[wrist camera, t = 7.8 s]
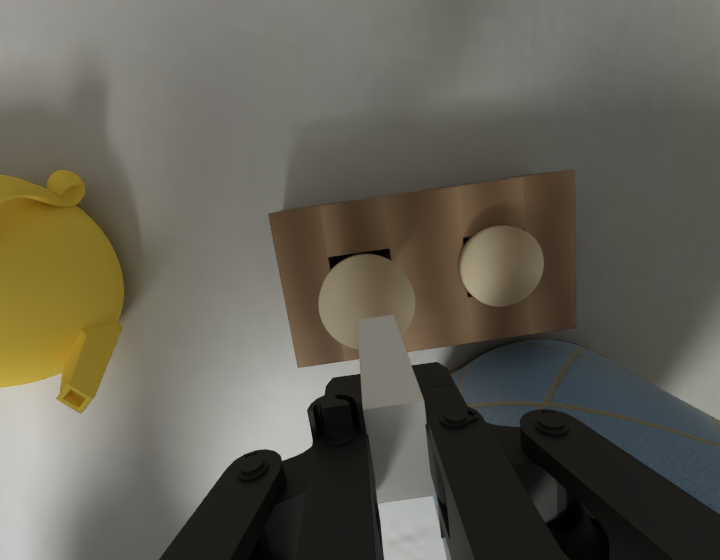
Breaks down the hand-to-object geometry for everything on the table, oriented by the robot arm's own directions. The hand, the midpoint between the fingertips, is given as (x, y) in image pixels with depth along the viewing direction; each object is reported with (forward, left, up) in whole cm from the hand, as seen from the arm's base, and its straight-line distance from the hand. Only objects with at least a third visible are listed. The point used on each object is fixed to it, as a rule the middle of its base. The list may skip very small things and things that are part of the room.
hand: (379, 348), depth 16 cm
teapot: (-26, +3, -19) cm, 33 cm away
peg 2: (+10, 0, -19) cm, 21 cm away
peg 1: (0, 0, -14) cm, 14 cm away
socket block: (+5, 0, -19) cm, 19 cm away
